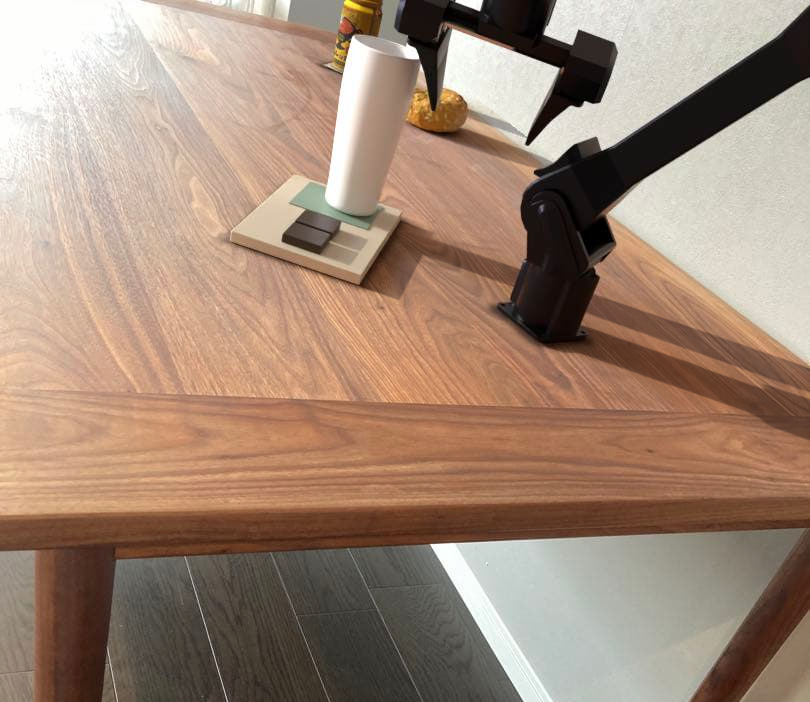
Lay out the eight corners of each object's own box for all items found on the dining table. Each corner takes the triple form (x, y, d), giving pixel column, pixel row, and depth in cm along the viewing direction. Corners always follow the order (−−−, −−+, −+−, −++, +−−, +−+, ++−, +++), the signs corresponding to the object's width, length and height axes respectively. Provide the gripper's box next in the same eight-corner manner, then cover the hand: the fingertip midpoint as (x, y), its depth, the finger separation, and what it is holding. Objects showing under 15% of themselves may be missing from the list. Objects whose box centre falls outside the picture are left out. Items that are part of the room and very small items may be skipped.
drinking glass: (370, 228, 89) (412, 63, 80) (306, 203, 90) (341, 37, 81) (390, 210, 95) (431, 55, 86) (330, 188, 95) (364, 30, 86)
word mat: (358, 285, 81) (363, 266, 80) (229, 241, 81) (232, 221, 80) (400, 220, 97) (405, 203, 96) (292, 183, 97) (296, 166, 96)
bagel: (401, 104, 136) (410, 70, 133) (469, 131, 135) (480, 97, 132) (378, 114, 128) (387, 78, 125) (450, 142, 127) (461, 106, 124)
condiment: (321, 65, 141) (338, -22, 134) (342, 60, 148) (360, -23, 141) (363, 82, 140) (383, -5, 133) (383, 76, 147) (403, -7, 140)
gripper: (657, -53, 77) (589, 114, 90) (448, -131, 77) (410, 48, 90) (639, 9, 71) (569, 179, 84) (411, -76, 71) (376, 109, 84)
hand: (480, 126), depth 85 cm, fingers open, 9 cm apart
